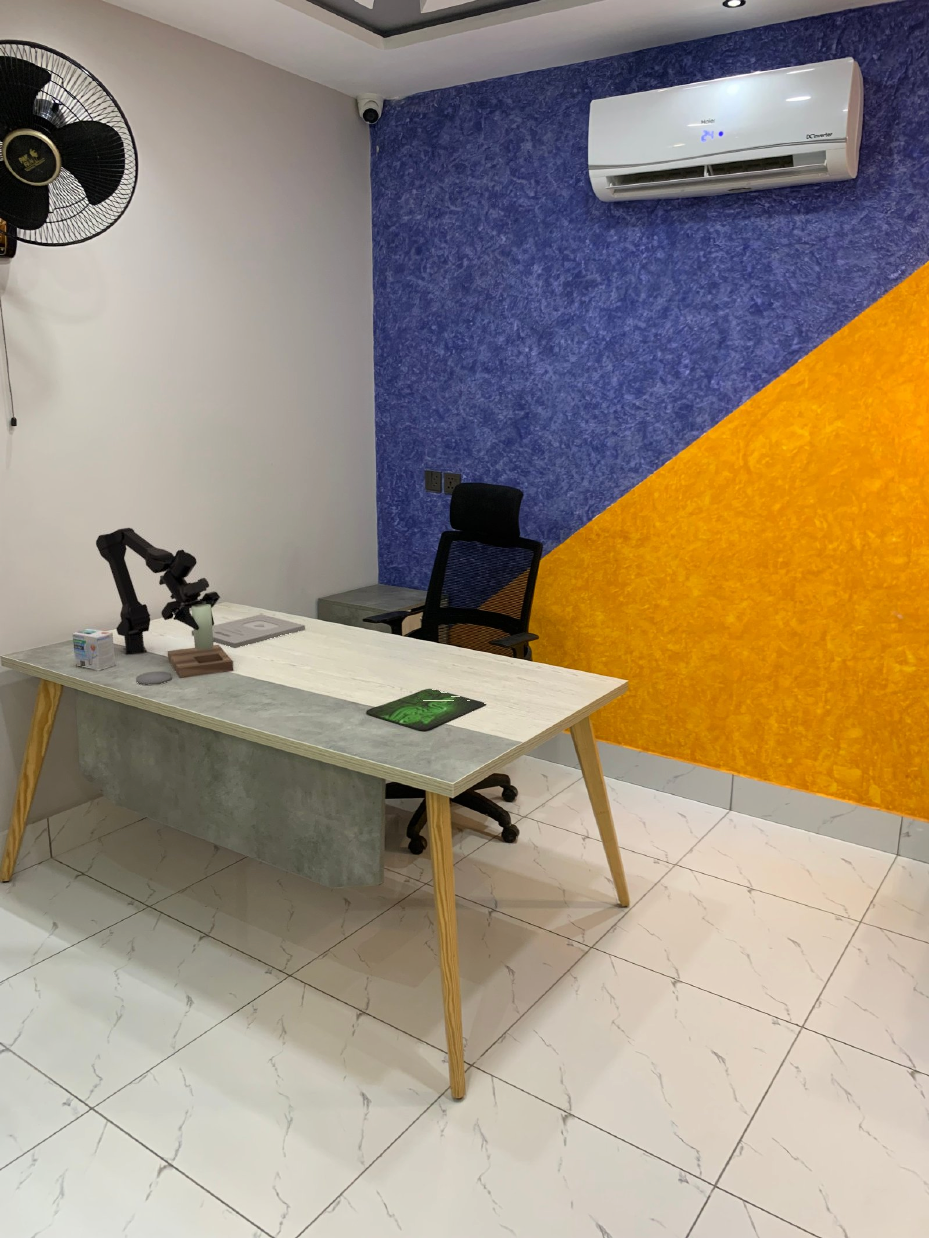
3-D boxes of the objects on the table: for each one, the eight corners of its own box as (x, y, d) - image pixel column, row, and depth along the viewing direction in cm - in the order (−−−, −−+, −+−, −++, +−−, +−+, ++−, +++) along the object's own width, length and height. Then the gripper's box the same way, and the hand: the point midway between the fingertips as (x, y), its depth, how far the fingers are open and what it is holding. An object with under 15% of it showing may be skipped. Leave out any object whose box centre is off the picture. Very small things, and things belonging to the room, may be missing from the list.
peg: (193, 646, 280) (190, 604, 277) (212, 644, 282) (209, 603, 279) (196, 650, 275) (193, 608, 272) (215, 648, 277) (212, 607, 274)
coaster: (134, 677, 272) (133, 674, 272) (168, 672, 277) (168, 669, 276) (138, 687, 264) (138, 684, 263) (174, 682, 268) (174, 679, 268)
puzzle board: (168, 660, 289) (167, 651, 288) (219, 653, 296) (218, 644, 295) (179, 677, 272) (178, 668, 271) (233, 670, 279) (232, 661, 278)
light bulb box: (75, 666, 283) (71, 632, 280) (92, 660, 289) (89, 627, 286) (99, 671, 278) (95, 637, 276) (116, 665, 284) (113, 632, 281)
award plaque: (191, 636, 317) (191, 630, 317) (261, 619, 340) (261, 614, 339) (234, 649, 302) (234, 643, 301) (305, 631, 324) (304, 625, 324)
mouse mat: (429, 688, 263) (429, 685, 263) (490, 704, 250) (490, 701, 250) (362, 715, 243) (362, 711, 242) (424, 734, 229) (424, 730, 229)
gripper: (164, 576, 267) (192, 618, 264) (213, 565, 282) (241, 605, 279) (149, 598, 273) (176, 640, 270) (198, 587, 288) (224, 626, 285)
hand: (205, 627), depth 276 cm, fingers closed on peg, 5 cm apart
